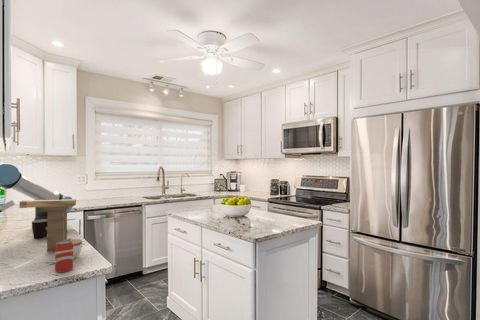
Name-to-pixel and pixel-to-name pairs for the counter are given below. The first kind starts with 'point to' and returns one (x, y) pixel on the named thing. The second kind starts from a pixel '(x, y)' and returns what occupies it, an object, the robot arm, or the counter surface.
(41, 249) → the counter surface
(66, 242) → the beverage can
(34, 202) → the tan wooden bar
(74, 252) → the lidded jar
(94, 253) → the counter surface
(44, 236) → the coffee mug
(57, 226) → the walnut stand
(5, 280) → the counter surface
